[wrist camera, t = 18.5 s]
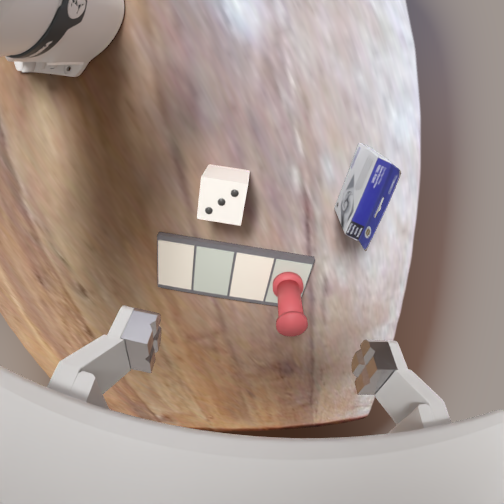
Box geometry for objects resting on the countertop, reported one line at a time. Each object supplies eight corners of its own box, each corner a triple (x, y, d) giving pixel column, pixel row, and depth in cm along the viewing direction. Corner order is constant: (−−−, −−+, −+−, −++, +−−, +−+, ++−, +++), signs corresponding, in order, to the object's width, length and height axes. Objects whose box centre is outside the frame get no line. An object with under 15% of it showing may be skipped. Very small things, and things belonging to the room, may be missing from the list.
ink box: (357, 140, 39) (387, 162, 29) (371, 146, 39) (404, 169, 29) (331, 209, 45) (350, 249, 35) (344, 213, 45) (366, 253, 36)
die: (204, 201, 45) (196, 219, 40) (208, 164, 42) (201, 177, 37) (243, 208, 45) (241, 226, 40) (250, 170, 42) (248, 184, 37)
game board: (159, 283, 54) (157, 287, 53) (159, 231, 48) (157, 235, 47) (297, 305, 55) (297, 309, 54) (313, 256, 50) (315, 260, 49)
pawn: (269, 293, 52) (270, 335, 44) (276, 269, 50) (278, 311, 41) (298, 297, 53) (304, 339, 44) (306, 274, 50) (314, 315, 42)
